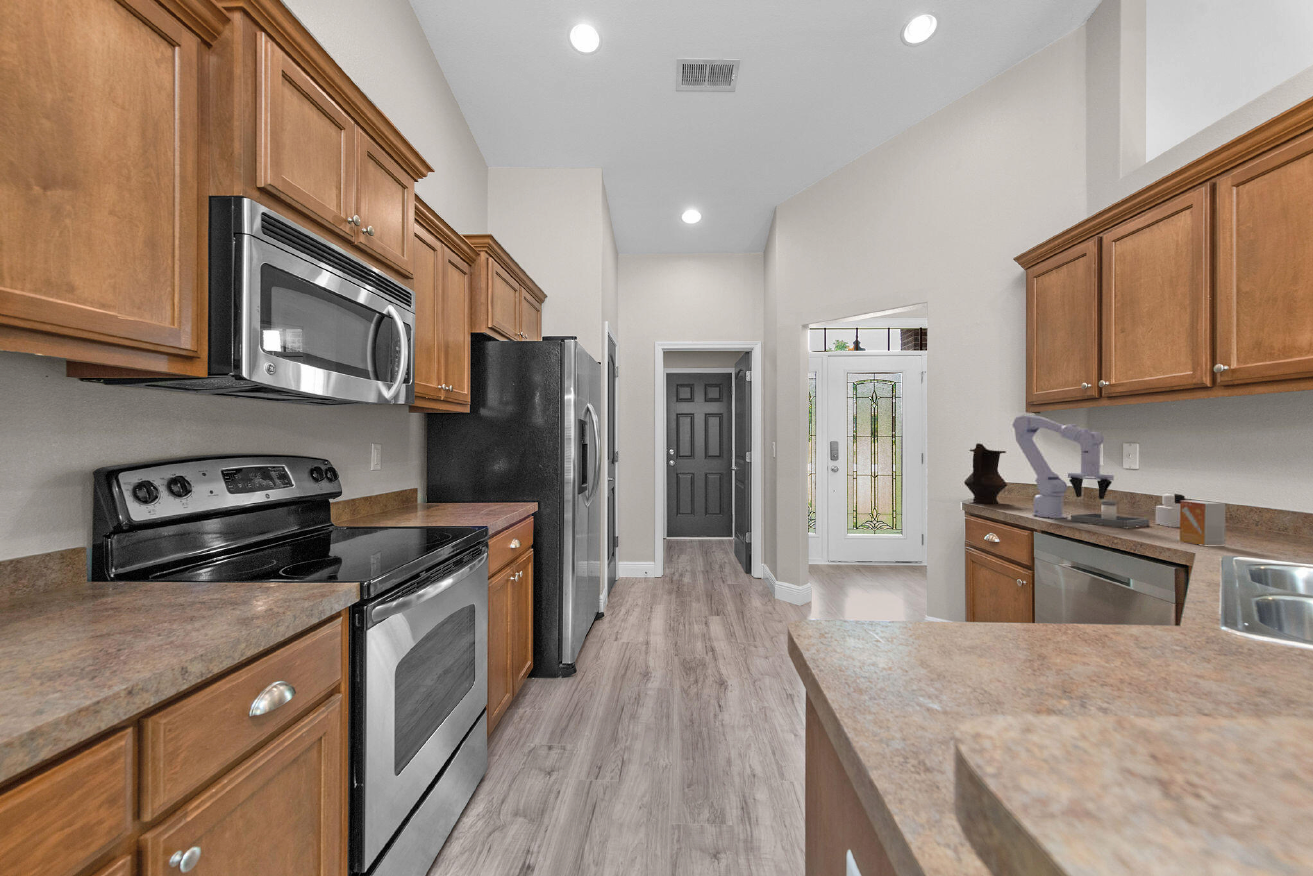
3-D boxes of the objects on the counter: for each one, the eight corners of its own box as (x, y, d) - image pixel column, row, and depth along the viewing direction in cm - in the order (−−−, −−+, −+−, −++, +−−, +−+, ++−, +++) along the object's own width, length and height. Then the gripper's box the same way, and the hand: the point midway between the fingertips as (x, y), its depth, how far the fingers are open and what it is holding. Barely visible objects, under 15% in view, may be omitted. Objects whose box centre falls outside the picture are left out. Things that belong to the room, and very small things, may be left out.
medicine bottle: (1175, 524, 207) (1175, 493, 207) (1192, 527, 200) (1192, 495, 200) (1155, 524, 208) (1155, 492, 208) (1170, 527, 200) (1171, 494, 200)
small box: (1179, 541, 172) (1179, 500, 172) (1199, 541, 172) (1199, 500, 172) (1204, 546, 164) (1205, 503, 164) (1225, 546, 164) (1226, 503, 164)
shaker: (1098, 520, 209) (1098, 500, 209) (1105, 520, 211) (1105, 499, 211) (1111, 522, 205) (1112, 501, 205) (1119, 522, 207) (1119, 501, 207)
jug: (972, 499, 288) (973, 443, 288) (1012, 503, 274) (1013, 443, 274) (955, 502, 274) (956, 443, 274) (996, 506, 260) (997, 443, 260)
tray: (1070, 521, 213) (1070, 515, 213) (1093, 519, 220) (1093, 513, 220) (1126, 528, 197) (1126, 521, 197) (1149, 525, 204) (1149, 519, 204)
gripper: (1063, 462, 216) (1063, 496, 216) (1106, 463, 203) (1106, 500, 203) (1073, 462, 219) (1073, 495, 219) (1116, 463, 206) (1116, 499, 206)
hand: (1089, 497), depth 211 cm, fingers open, 7 cm apart
